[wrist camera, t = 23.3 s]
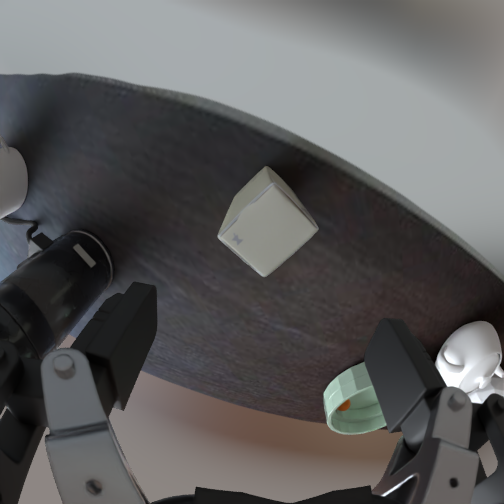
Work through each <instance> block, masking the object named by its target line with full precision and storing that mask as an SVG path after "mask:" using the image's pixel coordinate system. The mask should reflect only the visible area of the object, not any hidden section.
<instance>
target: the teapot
mask: <svg viewBox="0 0 504 504" xmlns="http://www.w3.org/2000/svg"><path fill="white" fill-rule="evenodd" d="M501 360H502V352H501V346H500V341H499V337H498V334H497V332H496V330H495V329H494V327H493V326H492V325H491V324H490V323H488V322H486V321H476V322H472V323H468V324H466V325H464V326H462V327H460V328H459V329H457V330H456V331H455V332H454V333H453V334H452V335H451V336H450V337H449V338H448V339H447V340H446V341H445V343H444V344H443V346H442V347H441V349H440V351H439V353H438V356H437V359H436V362H435V366H436V368H437V369H438V371H439V373H440V374H441V376H442V378H443V379H444V381H445V383H446V385H447V387H448V386H454V387H457V388H459V389H461V390H463V391H464V392H465V393H466V394H467V395H468V394H471V393H473V392H474V391H476V390H478V389H479V388H480V389H483V388H485V387H486V386H487V385H488V384H489V383H490V381H491V377H492V376H493V375H494V373H495V374H496V375H498V376H499V377H501V378H504V371H503V370H502V368H501V367H500V363H501Z"/></svg>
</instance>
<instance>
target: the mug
mask: <svg viewBox="0 0 504 504" xmlns="http://www.w3.org/2000/svg"><path fill="white" fill-rule="evenodd" d="M0 144H1V145H2V147H3V148H0V219H1V218H3V217H5V216H6V215H8V214H10V213H12V212H14V211H15V210H17V209H19V208H20V207H21V206H22V204H23V202H24V200H25V197H26V194H27V188H28V174H27V168H26V164H25V161H24V159H23V157H22V155H21V154H20V153H19V152H18V150H17V149H15V148H12V147H8V146H7V144H6V142H5V140H4V139H3V137H2V136H1V135H0Z"/></svg>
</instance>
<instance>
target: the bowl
mask: <svg viewBox="0 0 504 504" xmlns="http://www.w3.org/2000/svg"><path fill="white" fill-rule="evenodd" d="M348 399H349V400H350V402H351V404H350V407H349V408H348V409H347V410H346V411H339V410H338V409H337V408H338V407H339V406H340V405H341V404H343V403H344V402H345V401H346V400H348ZM323 402H324V408H325V414H326V419H327V424H328V426H329V427H330V429H331V430H333V431H335V432H337V433H340V434H349V435H351V434H362V433H366V432H370V431H374V430H376V429H379V428H382V427H384V426H386V422H385V419H384V416H383V413H382V410H381V407H380V404H379V402H378V399H377V396H376V393H375V390H374V388H373V385H372V382H371V380H370V377H369V374H368V372H367V369H366V366H365V362H363V363H360V364H358V365H355V366H353V367H351V368H349V369H347V370H346V371H344V372H343V373H341V374H340V375H338V376H337V377H336V378H335V379H334V380H333V381H332V382H331V383H330V384H329V385H328V387H327V389H326V390H325V392H324V398H323Z"/></svg>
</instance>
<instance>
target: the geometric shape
mask: <svg viewBox="0 0 504 504" xmlns="http://www.w3.org/2000/svg"><path fill="white" fill-rule="evenodd" d="M492 393H496V394H499V395H501V396H503V397H504V378H501V377H499V376H498V375H496V374H494V375H493V376H492V377H491V381H490V383H489V384H488V385H487V386H486V387H485V388H483V389H480V388H479V389H478V390H476V391H474V392H473V393H471V394H468V396H469V398H470V400H471V402H473V403H480V404H482V403H483V402H484V401H485V400H486V399H487V397H488V396H489V395H490V394H492Z"/></svg>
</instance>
